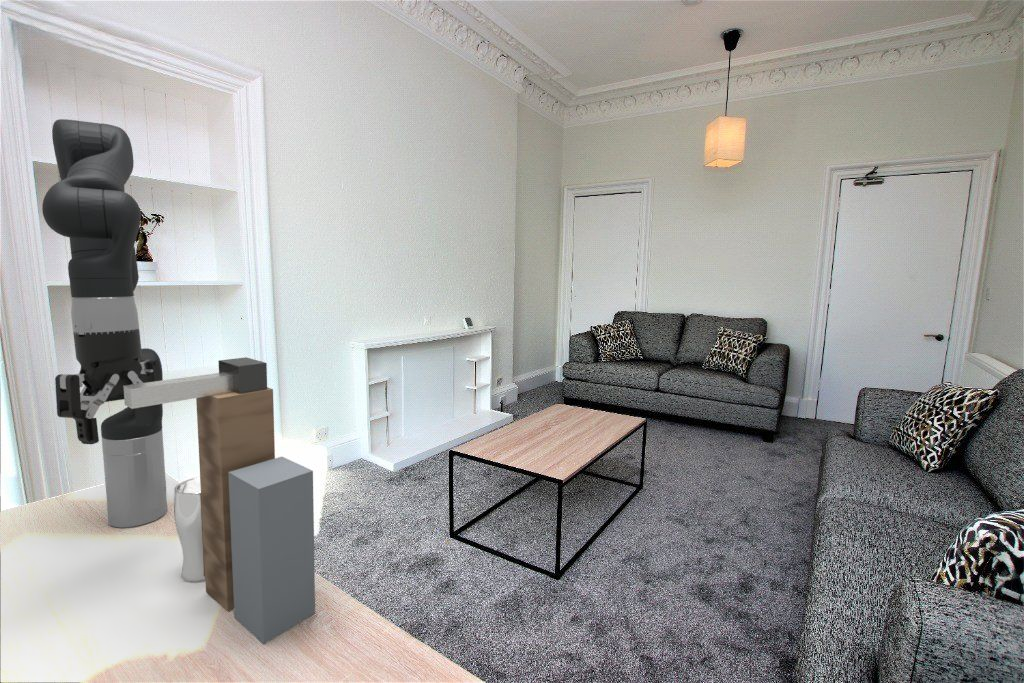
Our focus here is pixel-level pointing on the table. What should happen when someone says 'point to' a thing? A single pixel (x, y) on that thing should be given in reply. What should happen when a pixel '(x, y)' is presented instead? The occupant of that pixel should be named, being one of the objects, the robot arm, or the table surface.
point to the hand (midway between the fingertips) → (118, 434)
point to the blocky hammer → (201, 384)
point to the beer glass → (190, 528)
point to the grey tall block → (272, 546)
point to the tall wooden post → (224, 448)
